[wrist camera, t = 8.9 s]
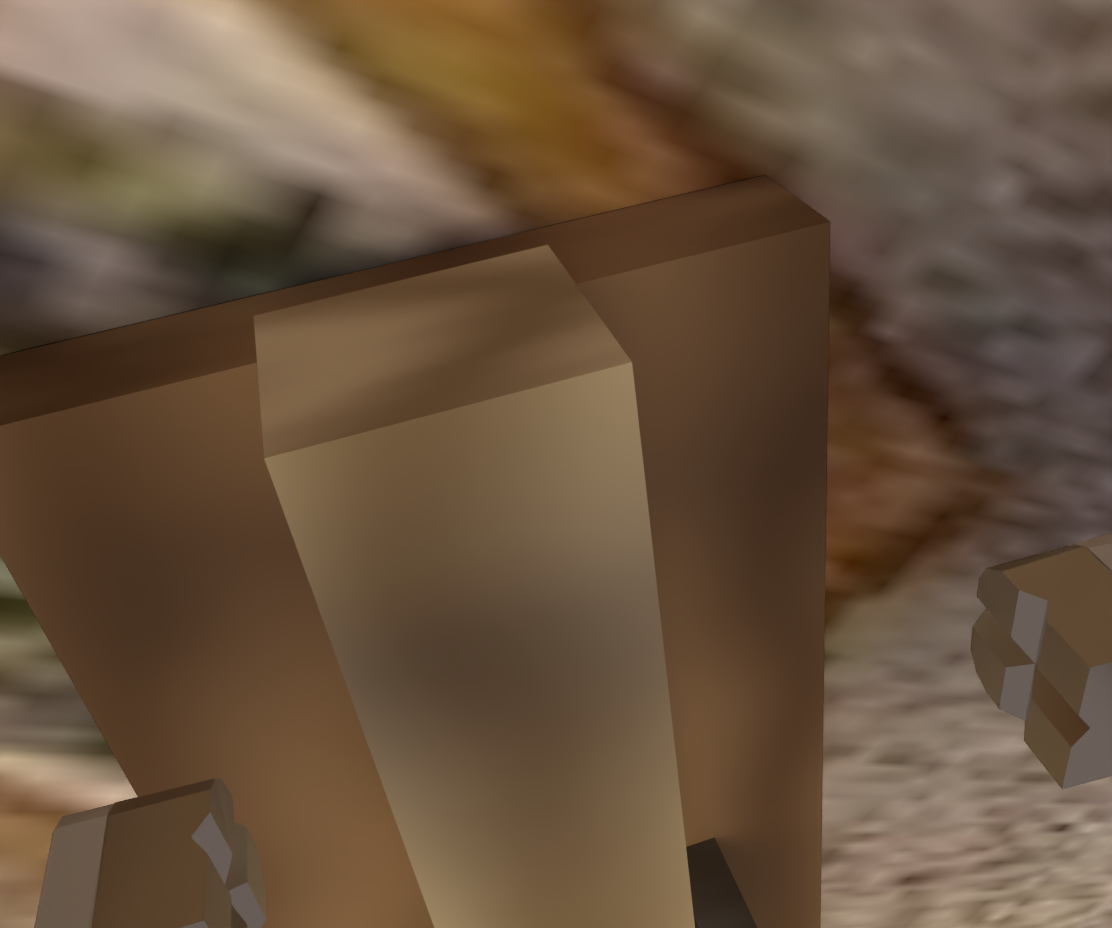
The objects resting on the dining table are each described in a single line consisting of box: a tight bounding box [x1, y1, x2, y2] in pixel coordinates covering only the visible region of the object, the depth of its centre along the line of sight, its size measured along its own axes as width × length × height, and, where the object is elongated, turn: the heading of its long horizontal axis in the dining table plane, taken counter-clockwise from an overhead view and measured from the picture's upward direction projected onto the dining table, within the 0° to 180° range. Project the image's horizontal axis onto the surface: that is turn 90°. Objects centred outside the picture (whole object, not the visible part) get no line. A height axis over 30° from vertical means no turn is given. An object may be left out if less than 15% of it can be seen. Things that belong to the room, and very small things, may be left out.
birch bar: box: [254, 245, 695, 928], centre depth 18 cm, size 4×14×4 cm, turn 9°
